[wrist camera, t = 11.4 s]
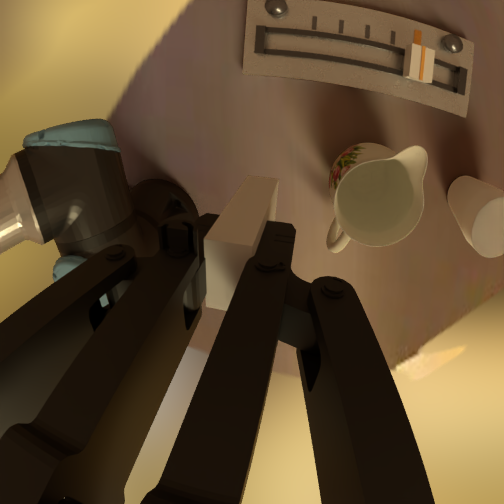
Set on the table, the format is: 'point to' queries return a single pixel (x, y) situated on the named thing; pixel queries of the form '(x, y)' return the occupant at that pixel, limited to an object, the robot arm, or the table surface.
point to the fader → (418, 63)
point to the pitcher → (376, 194)
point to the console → (355, 50)
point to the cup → (479, 214)
